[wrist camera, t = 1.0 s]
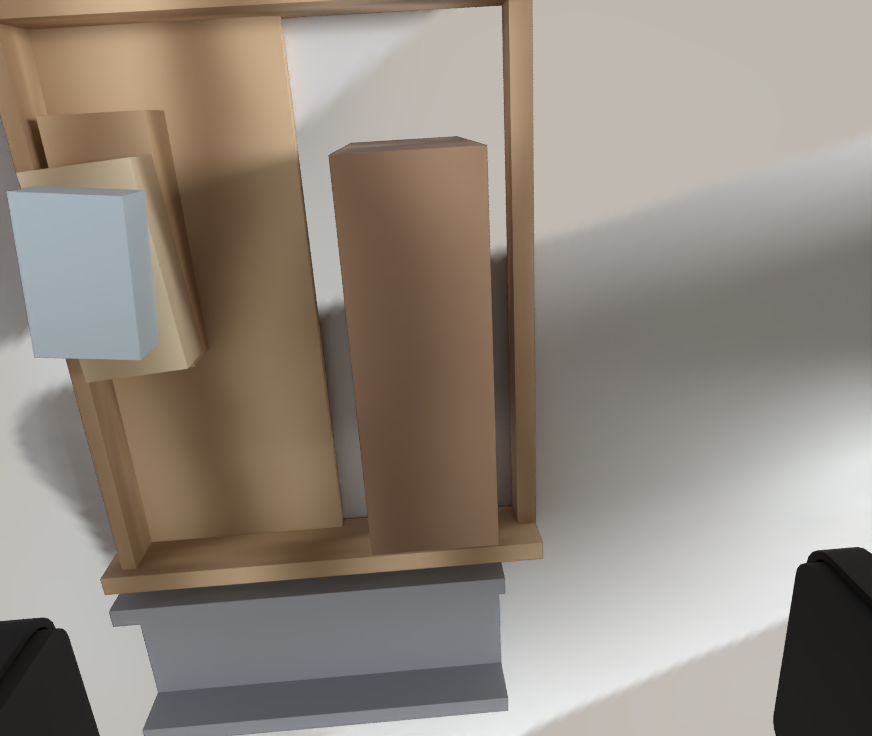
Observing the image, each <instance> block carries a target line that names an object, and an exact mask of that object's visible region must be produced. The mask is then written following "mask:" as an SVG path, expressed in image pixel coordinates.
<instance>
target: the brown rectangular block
mask: <svg viewBox="0 0 872 736" xmlns="http://www.w3.org/2000/svg"><path fill="white" fill-rule="evenodd" d="M329 164H330V173H331V182H332V191H333V201H334V210H335V219H336V228H337V237H338V246H339V256H340V265H341V274H342V284H343V293H344V302H345V311H346V320H347V330H348V339H349V348H350V357H351V366H352V376H353V385H354V394H355V403H356V412H357V422H358V431H359V440H360V449H361V458H362V468H363V477H364V486H365V495H366V504H367V514H368V523H369V532H370V541H371V550H372V555H381V554H393V553H405V552H417V551H429V550H441V549H454V548H466V547H478V546H490V545H499V537H498V503H497V469H496V435H495V400H494V366H493V332H492V298H491V264H490V229H489V199H488V198H489V195H488V162H487V145H484V144H481V143H478V142H475V141H471V140H467V139H464V138H461V137H457V136H454V137H438V138H422V139H406V140H392V141H391V140H390V141H375V142H358V143H350V144H348V145H346V146H345V147H343V148H341V149H339V150H337V151H335V152H333V153H332V154H330V155H329Z"/></svg>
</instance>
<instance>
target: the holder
mask: <svg viewBox="0 0 872 736" xmlns="http://www.w3.org/2000/svg"><path fill="white" fill-rule="evenodd" d="M499 594H505V577H504V573H503V569H502V564H501V562H495V563H483V564H471V565H459V566H447V567H435V568H423V569H411V570H399V571H387V572H375V573H363V574H351V575H339V576H327V577H315V578H303V579H291V580H279V581H267V582H255V583H243V584H231V585H219V586H207V587H195V588H183V589H171V590H159V591H147V592H135V593H123V594H119V595H118V597H117V599H116V600H115V602H114V604H113V606H112V607H111V609H110V611H109V614H110V618H111V621H112V625H113V627H116V626H128V625H141V629H142V633H143V637H144V641H145V644H146V648H147V652H148V656H149V659H150V663H151V667H152V671H153V674H154V678H155V682H156V686H157V690H158V695H157V697H156V699H155V702H154V704H153V707H152V709H151V711H150V714H149V716H148V719H147V721H146V724H145V726H144V728H143V734H144V736H233V735H245V734H256V733H267V732H278V731H289V730H300V729H311V728H322V727H333V726H344V725H355V724H366V723H377V722H388V721H399V720H410V719H421V718H432V717H443V716H454V715H465V714H476V713H488V712H499V711H508V696H507V690H506V685H505V680H504V675H503V670H502V665H501V644H500V610H499Z"/></svg>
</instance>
